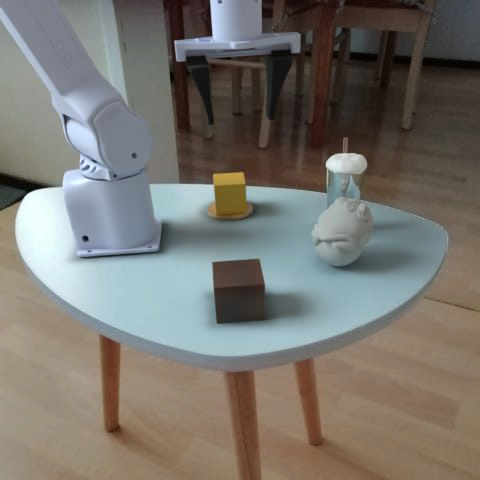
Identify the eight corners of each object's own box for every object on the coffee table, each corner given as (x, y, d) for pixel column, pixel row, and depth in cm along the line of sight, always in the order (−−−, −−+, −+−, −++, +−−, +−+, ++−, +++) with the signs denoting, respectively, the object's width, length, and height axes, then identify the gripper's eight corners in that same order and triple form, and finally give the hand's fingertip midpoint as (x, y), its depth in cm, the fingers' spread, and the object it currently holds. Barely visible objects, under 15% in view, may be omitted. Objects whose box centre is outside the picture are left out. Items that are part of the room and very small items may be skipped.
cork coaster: (208, 222, 63) (208, 219, 63) (207, 202, 68) (207, 200, 67) (254, 218, 63) (254, 216, 63) (250, 199, 68) (250, 197, 68)
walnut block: (216, 323, 46) (213, 287, 43) (215, 295, 50) (212, 261, 47) (265, 319, 46) (265, 284, 44) (260, 292, 50) (259, 258, 47)
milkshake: (357, 218, 62) (366, 137, 56) (361, 238, 58) (371, 153, 52) (320, 217, 62) (325, 137, 56) (322, 237, 58) (327, 153, 52)
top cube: (216, 215, 63) (213, 185, 61) (215, 202, 67) (212, 173, 64) (246, 213, 64) (245, 183, 61) (244, 200, 67) (243, 171, 64)
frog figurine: (381, 259, 54) (390, 199, 49) (342, 285, 50) (348, 222, 46) (336, 241, 57) (341, 184, 53) (297, 264, 54) (299, 204, 49)
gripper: (170, -2, 50) (185, 134, 58) (308, -10, 51) (304, 124, 60) (168, -7, 56) (182, 118, 64) (293, -14, 57) (291, 109, 65)
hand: (240, 120), depth 62 cm, fingers open, 7 cm apart
